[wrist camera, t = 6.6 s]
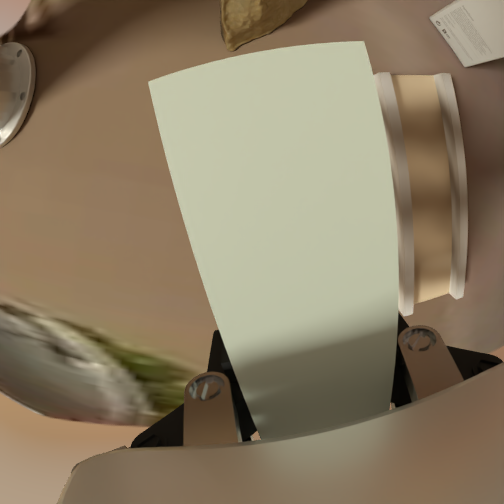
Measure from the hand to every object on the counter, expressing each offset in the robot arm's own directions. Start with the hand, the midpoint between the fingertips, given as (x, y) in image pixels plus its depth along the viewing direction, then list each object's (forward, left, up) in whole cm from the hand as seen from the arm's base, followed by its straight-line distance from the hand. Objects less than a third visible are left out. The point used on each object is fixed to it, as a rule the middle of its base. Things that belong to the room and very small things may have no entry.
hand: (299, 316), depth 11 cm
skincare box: (-17, +24, -15) cm, 33 cm away
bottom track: (0, +14, -15) cm, 21 cm away
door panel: (0, 0, -2) cm, 2 cm away
